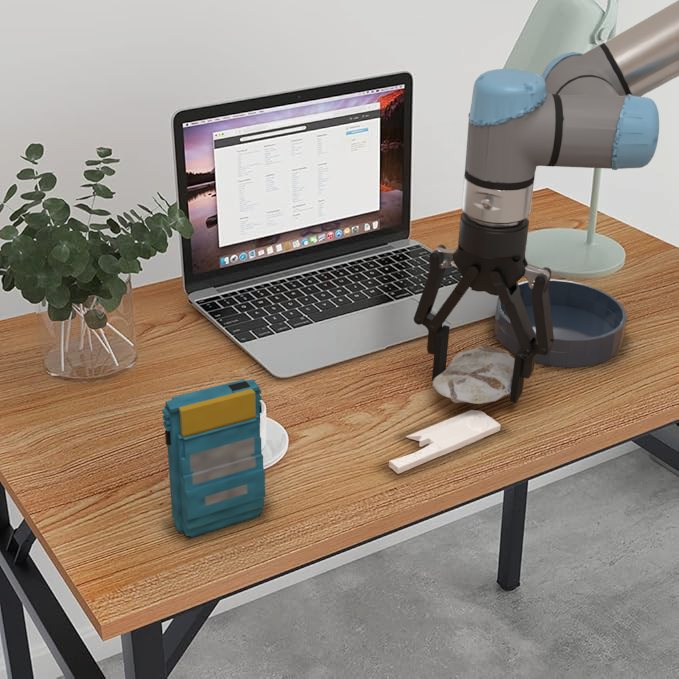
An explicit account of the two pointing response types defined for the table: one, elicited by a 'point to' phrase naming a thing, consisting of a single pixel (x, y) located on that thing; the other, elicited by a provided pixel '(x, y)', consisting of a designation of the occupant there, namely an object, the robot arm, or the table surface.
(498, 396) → the stone
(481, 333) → the table surface
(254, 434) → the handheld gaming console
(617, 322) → the bowl
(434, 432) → the white plastic strip tool
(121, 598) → the table surface
